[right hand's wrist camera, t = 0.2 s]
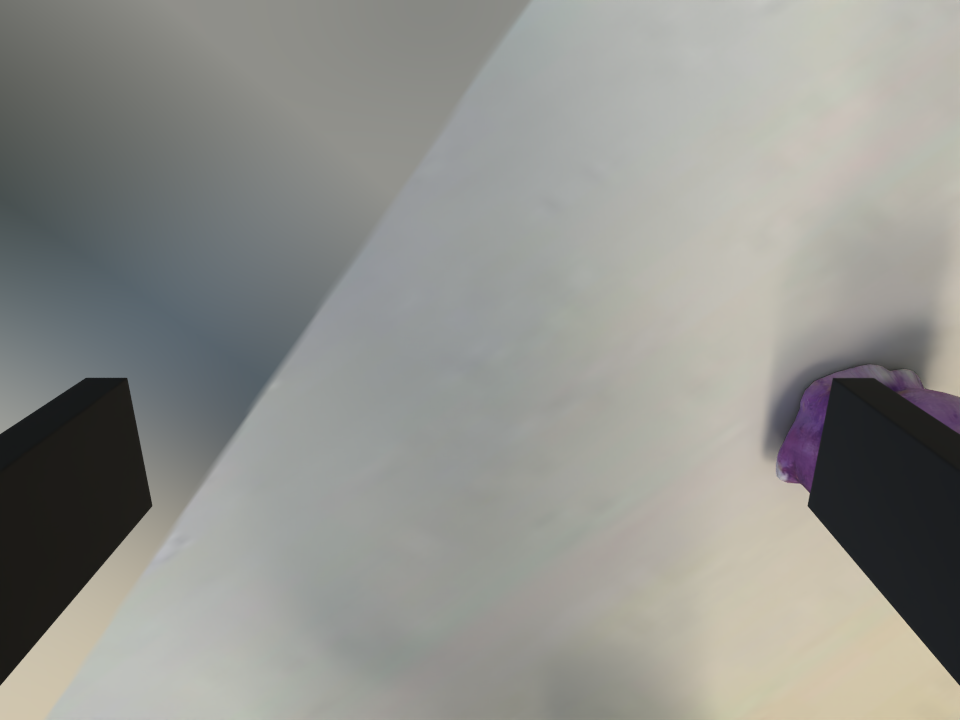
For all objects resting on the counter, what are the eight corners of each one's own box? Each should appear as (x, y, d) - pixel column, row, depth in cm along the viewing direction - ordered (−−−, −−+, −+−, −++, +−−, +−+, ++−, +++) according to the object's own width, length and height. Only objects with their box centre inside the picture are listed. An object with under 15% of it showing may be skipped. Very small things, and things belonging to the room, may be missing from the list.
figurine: (958, 356, 41) (1205, 479, 27) (888, 494, 45) (1074, 666, 31) (818, 323, 41) (997, 432, 27) (757, 466, 44) (887, 629, 30)
